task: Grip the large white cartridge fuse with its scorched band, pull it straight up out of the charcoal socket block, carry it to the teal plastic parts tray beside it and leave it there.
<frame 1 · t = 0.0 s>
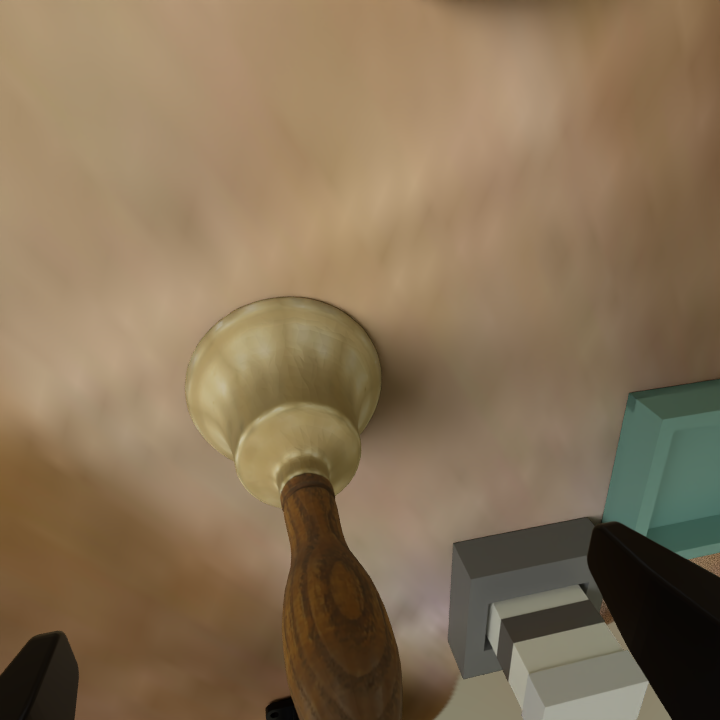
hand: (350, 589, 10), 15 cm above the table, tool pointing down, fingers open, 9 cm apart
hand bell: (285, 385, 25), on the table
socket block: (515, 581, 33), on the table
fuse: (549, 640, 30), in the socket block
parts tray: (692, 457, 32), on the table
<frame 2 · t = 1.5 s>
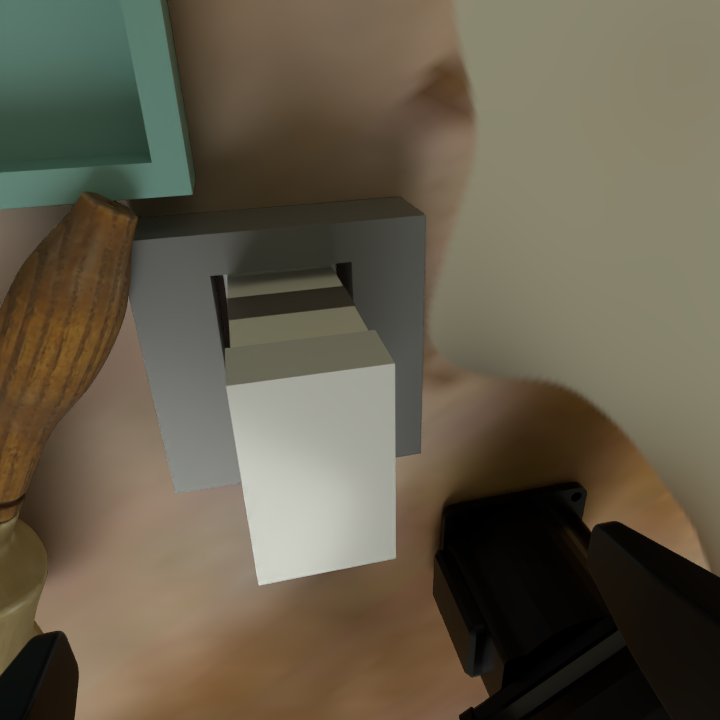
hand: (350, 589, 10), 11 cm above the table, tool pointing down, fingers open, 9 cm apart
socket block: (283, 329, 19), on the table
fuse: (298, 388, 15), in the socket block
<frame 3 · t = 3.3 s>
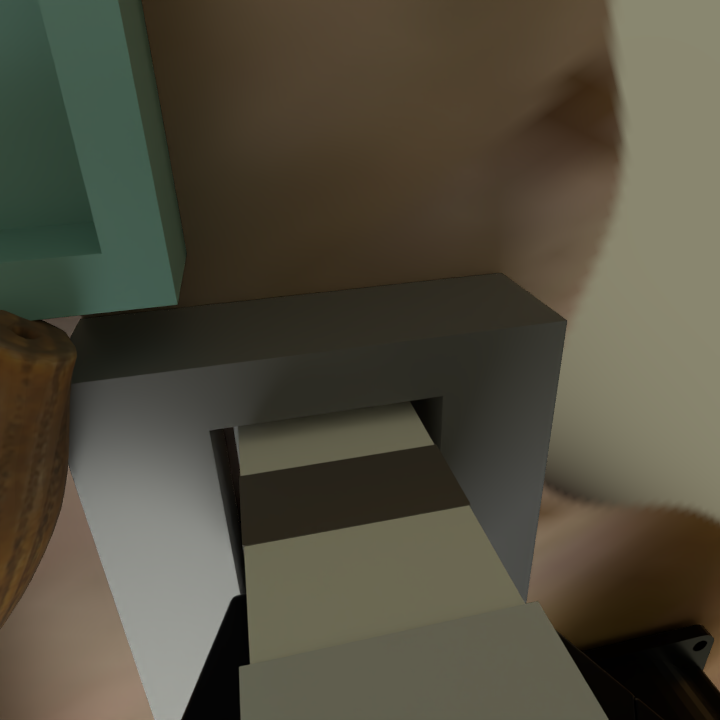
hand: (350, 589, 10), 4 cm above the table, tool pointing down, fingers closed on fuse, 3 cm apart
socket block: (318, 463, 13), on the table
fuse: (356, 611, 9), in the socket block, touching gripper
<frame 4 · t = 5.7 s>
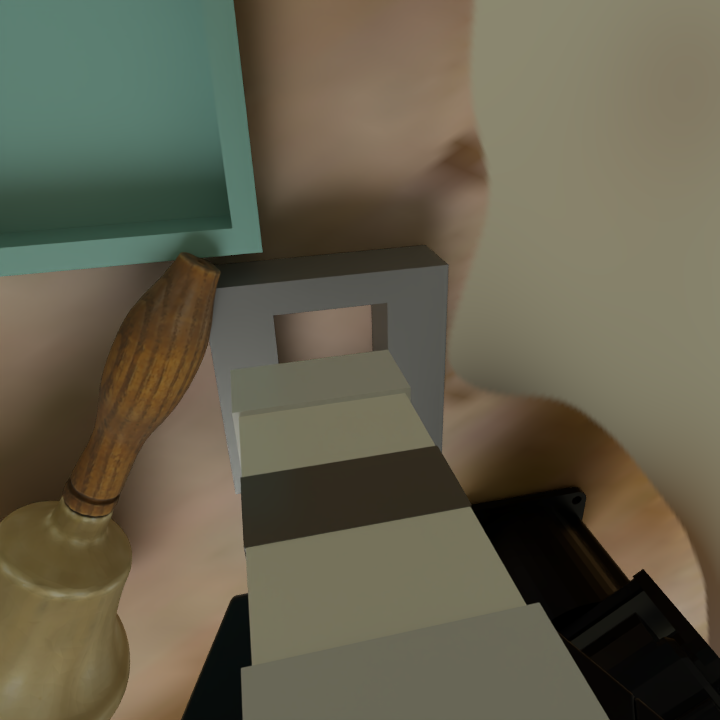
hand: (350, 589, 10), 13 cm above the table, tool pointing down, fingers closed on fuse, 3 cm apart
hand bell: (9, 662, 20), point 4 cm above the table, touching parts tray, socket block
socket block: (325, 355, 22), on the table
fuse: (357, 612, 9), point 14 cm above the table, touching gripper
parts tray: (63, 75, 16), on the table
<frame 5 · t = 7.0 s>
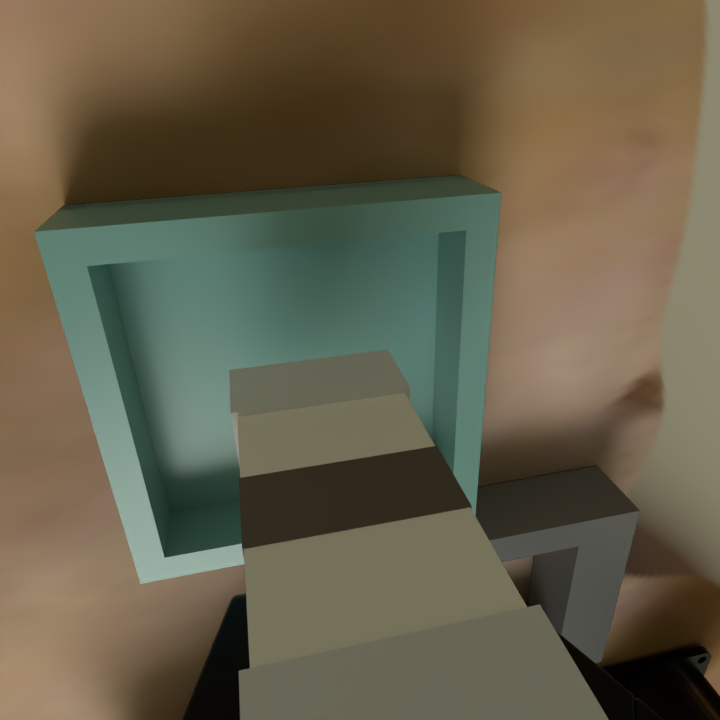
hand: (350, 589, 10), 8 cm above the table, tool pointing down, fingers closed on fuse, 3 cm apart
socket block: (490, 562, 23), on the table
fuse: (356, 613, 9), point 9 cm above the table, touching gripper
parts tray: (292, 363, 17), on the table
when the fingers open (5 cm above the table, at t = 8.2 s): fuse stays where it is, resting on parts tray.
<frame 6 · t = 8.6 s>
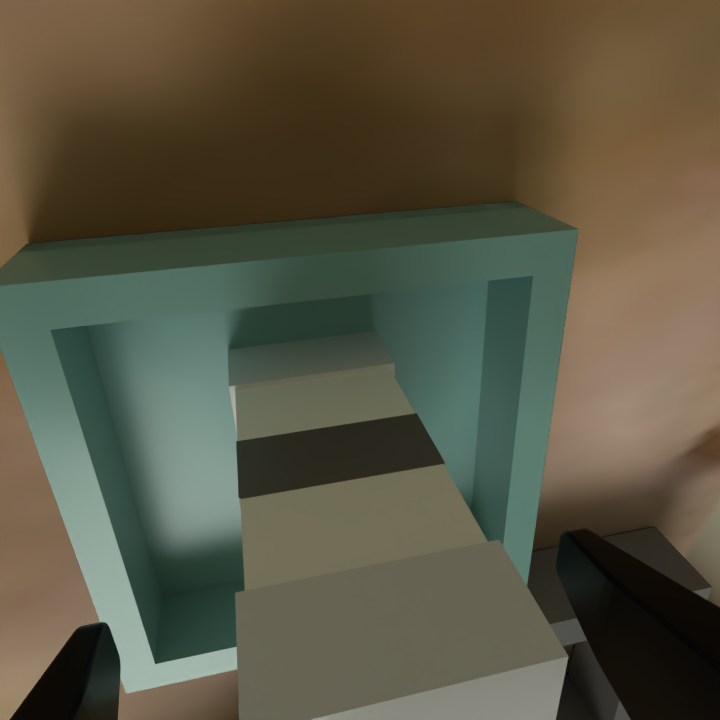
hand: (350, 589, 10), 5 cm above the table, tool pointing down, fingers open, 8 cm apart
socket block: (529, 633, 20), on the table
fuse: (344, 567, 10), in the parts tray, point 5 cm above the table
parts tray: (308, 424, 14), on the table
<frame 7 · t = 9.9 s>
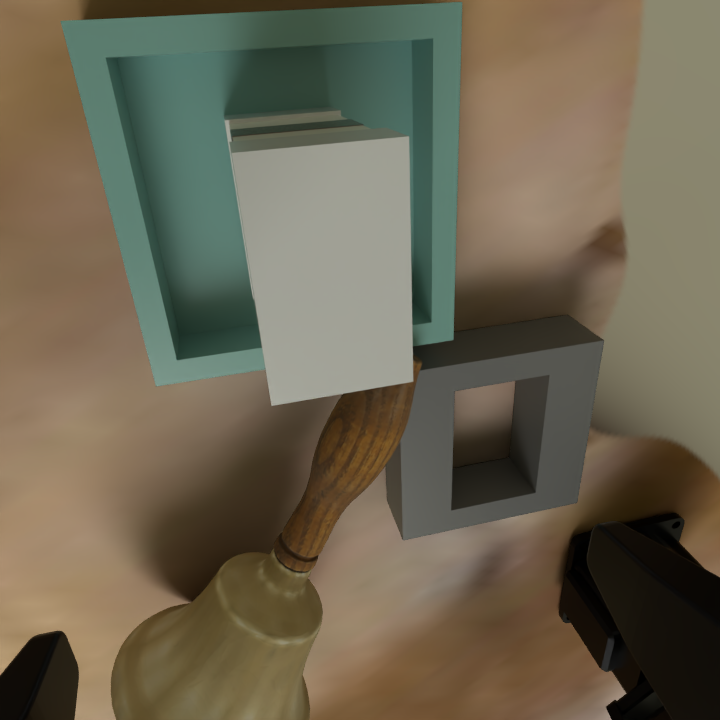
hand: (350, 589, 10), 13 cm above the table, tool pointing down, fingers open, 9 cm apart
hand bell: (212, 695, 23), point 4 cm above the table, touching parts tray, socket block
socket block: (473, 412, 25), on the table
fuse: (305, 231, 15), in the parts tray, point 5 cm above the table
parts tray: (285, 194, 19), on the table
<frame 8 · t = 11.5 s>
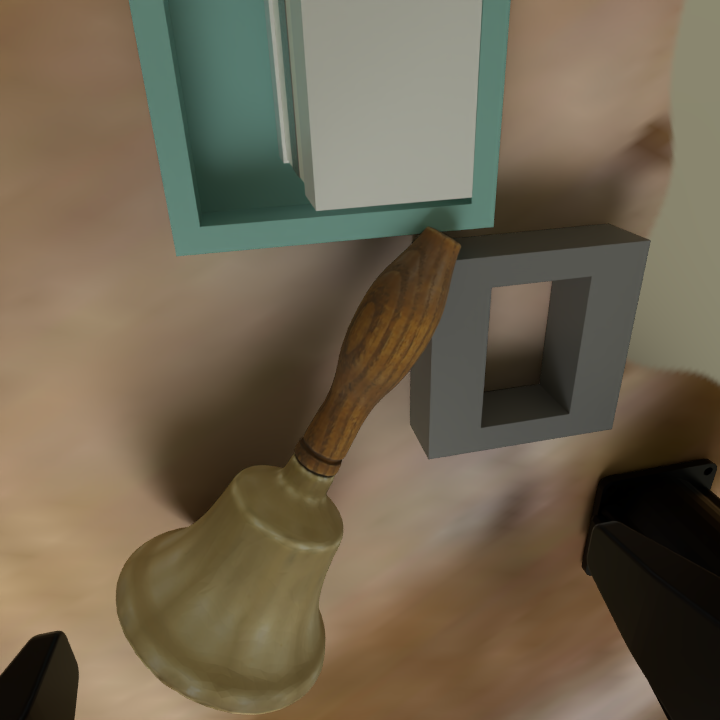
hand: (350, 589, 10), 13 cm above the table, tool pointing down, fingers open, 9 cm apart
hand bell: (223, 617, 22), point 4 cm above the table, touching parts tray, socket block
socket block: (504, 329, 23), on the table
fuse: (349, 58, 14), in the parts tray, point 5 cm above the table
parts tray: (320, 60, 18), on the table
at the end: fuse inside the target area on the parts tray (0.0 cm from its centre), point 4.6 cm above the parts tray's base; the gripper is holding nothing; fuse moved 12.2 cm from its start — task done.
